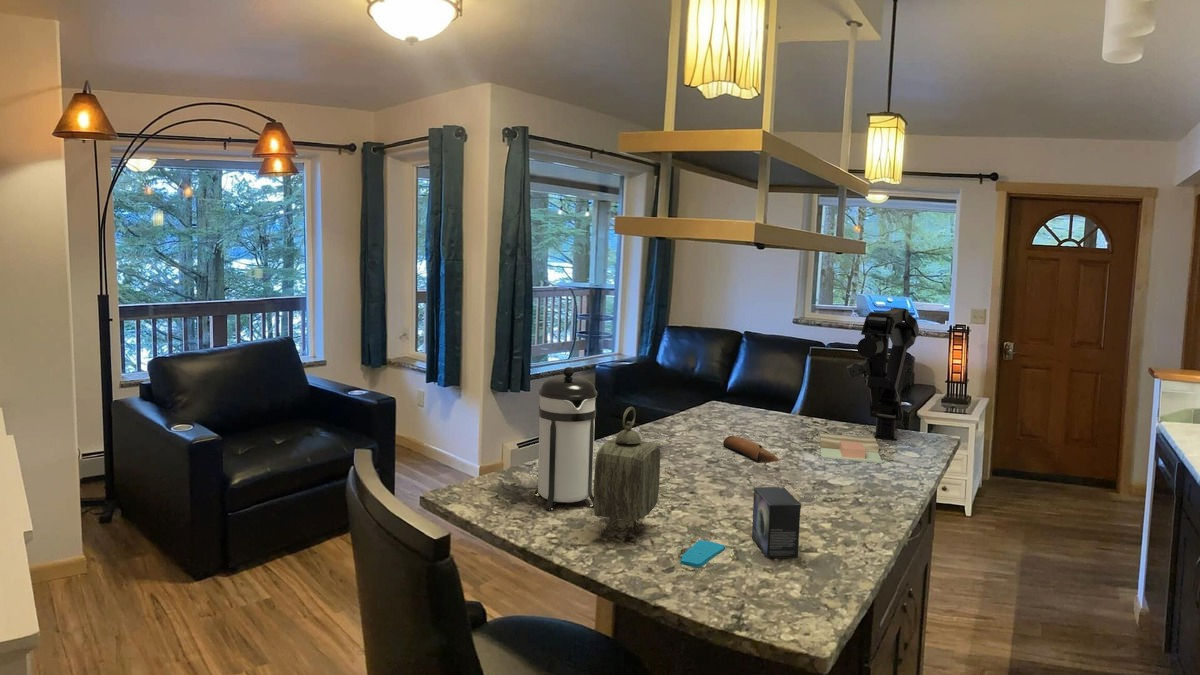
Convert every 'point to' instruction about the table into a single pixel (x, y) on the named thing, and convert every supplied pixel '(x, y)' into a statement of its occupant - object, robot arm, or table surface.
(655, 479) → the tabletop clock
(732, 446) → the sunglasses case
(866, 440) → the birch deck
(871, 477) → the table surface
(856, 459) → the sage mat
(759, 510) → the small box
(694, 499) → the table surface
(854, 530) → the table surface
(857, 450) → the coral tile
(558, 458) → the coffee press
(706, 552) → the sponge
